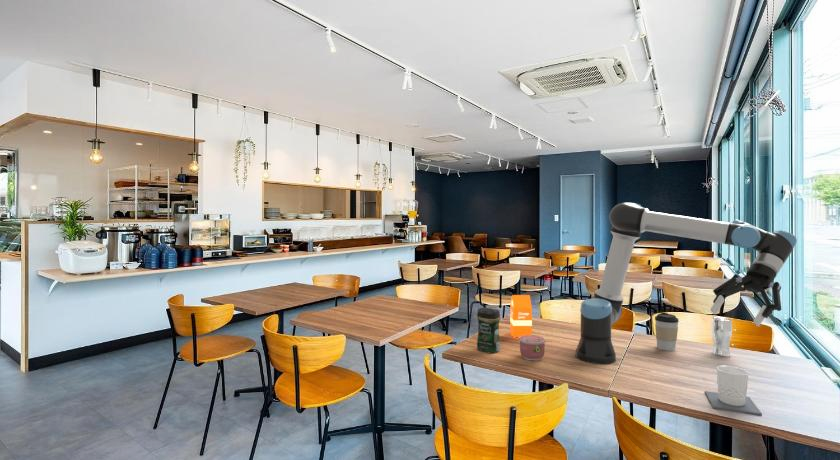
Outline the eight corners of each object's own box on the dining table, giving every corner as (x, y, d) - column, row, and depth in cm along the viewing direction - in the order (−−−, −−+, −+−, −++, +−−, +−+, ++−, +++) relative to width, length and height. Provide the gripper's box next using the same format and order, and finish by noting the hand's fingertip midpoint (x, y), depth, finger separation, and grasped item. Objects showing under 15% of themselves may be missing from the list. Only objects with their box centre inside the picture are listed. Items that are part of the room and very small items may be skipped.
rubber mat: (713, 408, 129) (713, 406, 129) (704, 392, 140) (704, 390, 140) (761, 415, 124) (761, 413, 124) (749, 398, 135) (749, 397, 135)
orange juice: (531, 338, 201) (532, 296, 200) (513, 338, 201) (513, 296, 201) (528, 333, 209) (528, 293, 208) (510, 333, 209) (510, 293, 208)
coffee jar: (474, 350, 184) (473, 308, 184) (483, 345, 190) (483, 305, 190) (493, 355, 178) (493, 311, 177) (502, 350, 184) (502, 308, 183)
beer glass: (725, 358, 172) (726, 321, 171) (707, 353, 178) (708, 318, 177) (734, 355, 175) (735, 319, 175) (716, 350, 181) (717, 315, 181)
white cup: (710, 396, 136) (710, 365, 135) (732, 395, 136) (733, 364, 136) (730, 407, 128) (730, 375, 127) (754, 406, 128) (755, 374, 128)
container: (516, 359, 173) (516, 340, 172) (522, 352, 182) (522, 333, 182) (542, 363, 168) (542, 343, 167) (547, 355, 177) (547, 336, 177)
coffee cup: (681, 352, 179) (682, 317, 179) (658, 351, 181) (659, 316, 181) (673, 345, 188) (674, 312, 188) (651, 344, 190) (651, 311, 189)
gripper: (812, 283, 136) (781, 336, 132) (730, 269, 159) (701, 313, 155) (804, 269, 133) (772, 322, 129) (722, 256, 156) (692, 301, 152)
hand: (733, 317), depth 142 cm, fingers open, 13 cm apart
